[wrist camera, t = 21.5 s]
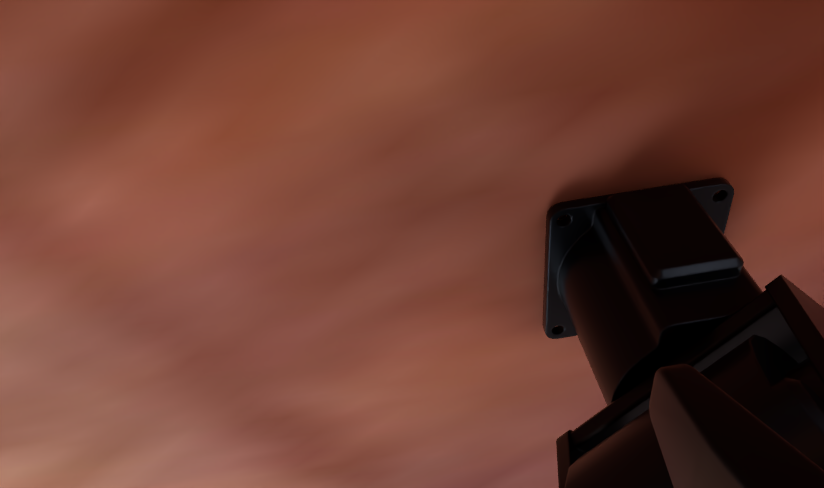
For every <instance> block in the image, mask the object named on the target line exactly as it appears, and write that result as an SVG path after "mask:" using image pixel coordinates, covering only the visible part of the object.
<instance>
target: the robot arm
mask: <svg viewBox="0 0 824 488" xmlns="http://www.w3.org/2000/svg"><path fill="white" fill-rule="evenodd" d="M720 190H721V191H720ZM717 191H720V192H719V193H718V194H716V195H714V194H715V193H716V192H717ZM733 195H734V189H733V187H732V186H731V185H730V183H729V182H728V181H727V180H726V179H724V178H712V179H706V180H700V181H693V182H687V183H681V184H674V185H668V186H662V187H655V188H649V189H643V190H636V191H630V192H624V193H617V194H611V195H605V196H598V197H592V198H586V199H579V200H573V201H567V202H561V203H558V204H555V205H554V206H552V207H551V208H550V209H549V211H548V212H547V216H546V243H545V271H544V300H543V328H544V331H545V333H546V335H547V336H548V337H549V338H552V339H558V338H564V337H570V336H576V335H578V338H579V340H580V342H581V345H582V347H583V349H584V352H585V354H586V356H587V359H588V361H589V363H590V366H591V368H592V371H593V373H594V375H595V378H596V380H597V382H598V385H599V387H600V389H601V392H602V394H603V396H604V399H605V401H606V403H607V406H606V407H605V408H604V409H602V410H601V411H600V412H598V413H597V414H595V415H594V416H593V417H591V418H590V419H589V420H587V421H586V422H585V423H583V424H582V425H580V426H579V427H578V428H576V429H575V430H574V431H572V430H569V431H567V432H566V433H565V434H563V435H562V436H561V437H559V438H558V439H557V441H556V444H557V461H558V479H559V488H824V308H823V307H822V306H820V305H819V304H818V303H817V302H815V301H814V300H813V299H812V298H810V297H809V296H808V295H806V294H805V293H804V292H803V291H801V290H800V289H799V288H798V287H796V286H795V285H794V284H793V283H791V282H790V281H789V280H788V279H786V278H785V277H784V276H782V275H780V276H778V277H777V278H776V279H774V280H773V281H772V282H770V283H769V284H768V285H766V286H765V288H766V290H765V291H764V292H762V290H761V289H760V288H759V286H758V285H757V284H756V282H755V281H754V280H753V278H752V277H751V276H750V274H749V273H748V272H747V270H746V269H745V268H744V266H743V263H744V262H743V259H742V258H741V256H740V255H739V254H738V252H737V251H736V250H735V248H734V247H733V246H732V244H731V243H730V242H729V241H728V239H727V238H726V237H725V235H724V231H725V227H726V223H727V219H728V215H729V211H730V207H731V203H732V199H733ZM563 215H567V216H566V217H565V218H564V219H561V220H557V219H558V218H559V217H560V216H563ZM555 326H557V327H555Z"/></svg>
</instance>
